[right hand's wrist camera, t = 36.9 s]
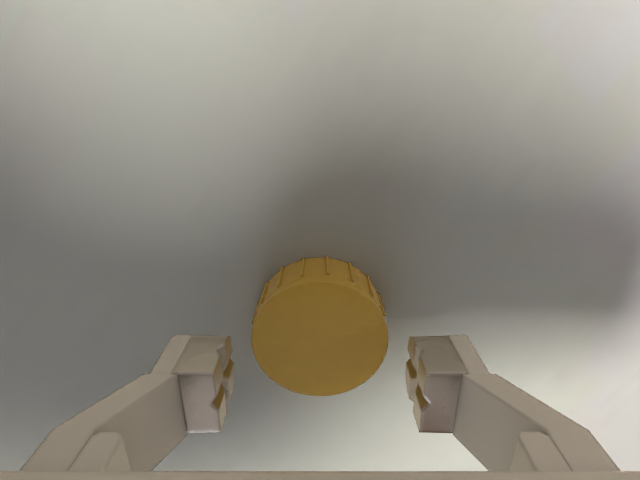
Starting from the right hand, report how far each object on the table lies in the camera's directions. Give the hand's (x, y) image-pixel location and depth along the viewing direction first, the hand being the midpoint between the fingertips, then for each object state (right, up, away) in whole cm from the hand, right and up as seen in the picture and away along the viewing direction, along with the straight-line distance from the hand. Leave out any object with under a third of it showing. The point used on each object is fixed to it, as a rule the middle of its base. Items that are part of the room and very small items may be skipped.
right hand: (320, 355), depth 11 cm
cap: (0, 0, +1) cm, 1 cm away
